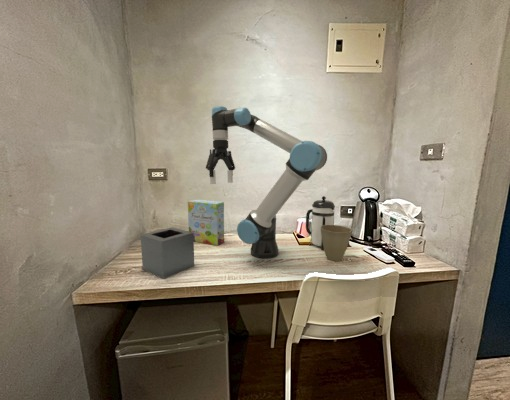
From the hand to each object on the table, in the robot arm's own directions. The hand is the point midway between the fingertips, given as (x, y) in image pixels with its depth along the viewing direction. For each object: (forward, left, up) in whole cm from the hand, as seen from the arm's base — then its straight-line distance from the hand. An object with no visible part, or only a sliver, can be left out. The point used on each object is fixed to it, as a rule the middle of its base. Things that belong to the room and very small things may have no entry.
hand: (222, 183), depth 113 cm
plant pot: (-49, -30, -38) cm, 69 cm away
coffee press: (-36, -45, -38) cm, 70 cm away
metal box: (+10, +26, -38) cm, 47 cm away
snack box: (+23, -10, -38) cm, 46 cm away
